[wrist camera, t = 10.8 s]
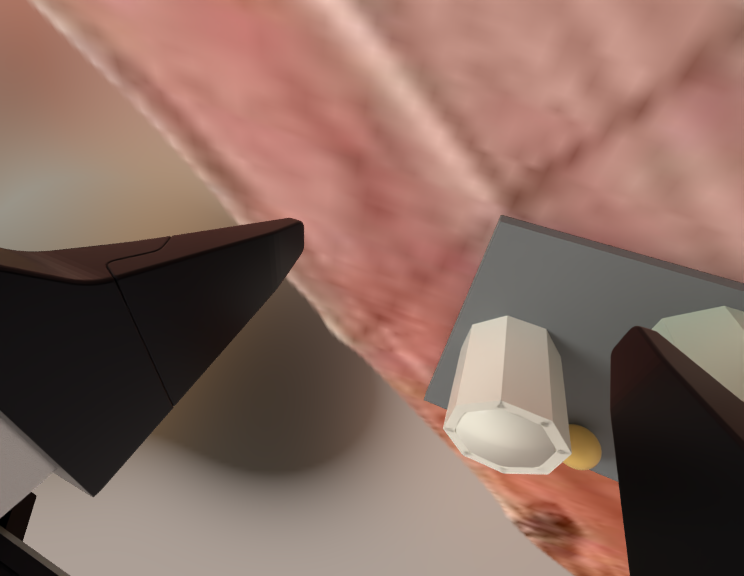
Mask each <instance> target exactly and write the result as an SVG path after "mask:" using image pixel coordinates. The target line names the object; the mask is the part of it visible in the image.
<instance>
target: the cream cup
mask: <svg viewBox="0 0 744 576" xmlns="http://www.w3.org/2000/svg"><path fill="white" fill-rule="evenodd" d="M443 429H444V430H445V432H446V433H447V434H448V436H449V437H450V438H451V440H452V441H453V442H454V444H455V445H456V447H457V448H458V449H459V451H460V452H461V453H462V455H464V456H466V457H468V458H470V459H473V460H475V461H477V462H479V463H482V464H484V465H486V466H488V467H490V468H493V469H495V470H497V471H499V472H502V473H509V474H549V473H550V472H551V471H553V470H554V469H555V468H556V467H557V466H558V465H560V464H561V463H562V462H563V461H564V460H565V459H566V458H568V457H569V456H570V455H571V454H572V451H571V442H570V433H569V424H568V416H567V407H566V398H565V389H564V380H563V372H562V363H561V356H560V354H559V352H558V350H557V349H556V347H555V345H554V343H553V341H552V339H551V337H550V335H549V333H548V331H547V330H546V329H545V328H542V327H539V326H536V325H534V324H531V323H528V322H525V321H522V320H519V319H516V318H514V317H511V316H508V315H507V316H503V317H499V318H496V319H492V320H488V321H484V322H480V323H477V324H473V325H472V327H471V329H470V331H469V333H468V335H467V337H466V339H465V341H464V343H463V345H462V348H461V351H460V356H459V360H458V365H457V369H456V374H455V378H454V382H453V387H452V391H451V396H450V400H449V404H448V409H447V413H446V418H445V422H444V426H443Z"/></svg>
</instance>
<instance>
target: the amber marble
mask: <svg viewBox="0 0 744 576" xmlns="http://www.w3.org/2000/svg"><path fill="white" fill-rule="evenodd" d="M569 433H570V442H571V451H572V454H571V455H570V456H569V457H568V458H566V459H565V460H564V461H563V463H565V464H566V465H568V466H569V467H571V468H574V469H577V470H589V469H591V468H593V467H595V466H596V465H597V464H598V463H599V461H600V459H601V454H602V450H601V446H600V443H599V441H598V439H597V438H596V436H595V435H594V434H593V433H592V432H591V431H589V430H588V429H586V428H585V427H582V426H580V425H576V424H569Z"/></svg>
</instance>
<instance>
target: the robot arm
mask: <svg viewBox="0 0 744 576" xmlns="http://www.w3.org/2000/svg"><path fill="white" fill-rule="evenodd" d="M303 249H304V225H303V223H302V222H301V221H299V220H296V219H293V218H285V219H278V220H272V221H265V222H259V223H252V224H246V225H239V226H233V227H227V228H220V229H214V230H207V231H200V232H195V233H187V234H181V235H174V236H172V237H170V236H167V237H161V238H154V239H147V240H140V241H133V242H124V243H116V244H108V245H98V246H89V247H81V248H71V249H63V250H52V251H39V252H28V251H16V250H10V249H4V248H0V576H70V575H68V574H67V573H66V572H64V571H63V570H61V569H60V568H59V567H57V566H56V565H55V564H53V563H52V562H50V561H49V560H48V559H46V558H45V557H43V556H42V555H41V554H39V553H38V552H36V551H35V550H34V549H32V548H31V547H29V546H28V545H27V544H25V543H24V542H23V539H24V535H25V532H26V529H27V526H28V522H29V519H30V516H31V513H32V509H33V506H34V503H35V500H36V495H35V494H34V493H32V492H31V491H33V490H34V489H35V488H36V487H37V486H38V485H39V484H41V483H42V482H43V481H44V480H45V479H46V478H47V477H49V476H50V475H51V474H52V473H55V474H57V475H58V476H60V477H61V478H63V479H64V480H66V481H68V482H69V483H71V484H72V485H74V486H76V487H77V488H79V489H80V490H82V491H84V492H85V493H87V494H88V495H90V496H92V497H94V496H95V495H96V494H97V493H99V491H101V490H102V488H103V487H104V486H105V485H106V484H107V483H108V482H109V480H110V479H111V478H112V477H113V476H114V475H115V474H116V473H117V471H118V470H119V469H120V468H121V467H122V466H123V465H124V463H125V462H126V461H127V460H128V459H129V458H130V457H131V455H132V454H133V453H134V452H135V451H136V450H137V449H138V447H139V446H140V445H141V444H142V443H143V442H144V441H145V439H146V438H147V437H148V436H149V435H150V434H151V433H152V431H153V430H154V429H155V428H156V427H157V426H158V425H159V424H160V422H161V421H162V420H163V419H164V418H165V417H166V415H167V414H168V413H169V412H170V411H171V410H172V409H173V406H175V405H176V404H177V403H178V402H179V400H180V399H181V398H182V397H183V396H184V395H185V394H186V392H187V391H188V390H189V389H190V388H191V387H192V386H193V384H194V383H195V382H196V381H197V380H198V379H199V378H200V376H201V375H202V374H203V373H204V372H205V371H206V370H207V368H208V367H209V366H210V365H211V364H212V363H213V361H214V360H215V359H216V358H217V357H218V356H219V355H220V354H221V352H222V351H223V350H224V349H225V348H226V347H227V345H228V344H229V343H230V342H231V341H232V340H233V338H235V336H236V335H237V334H238V333H239V332H240V331H241V330H242V328H243V327H244V326H245V325H246V324H247V322H248V321H249V320H250V319H251V318H252V317H253V316H254V315H255V314H256V312H257V311H258V310H259V309H260V308H261V307H262V306H263V304H264V303H265V302H266V301H267V300H268V299H269V298H270V296H271V295H272V294H273V293H274V292H275V290H276V289H277V288H278V287H279V285H280V284H281V283H282V281H283V280H284V278H285V277H286V276H287V274H288V273H289V271H290V270H291V268H292V267H293V265H294V264H295V262H296V261H297V260H298V258H299V257H300V255H301V254H302V252H303ZM610 416H611V425H612V433H613V441H614V449H615V458H616V466H617V474H618V482H619V490H620V498H621V506H622V515H623V523H624V531H625V539H626V547H627V555H628V563H629V571H630V576H744V402H743V401H742V400H740V399H739V398H738V397H737V396H736V395H734V394H733V393H732V392H731V391H729V390H728V389H727V388H726V387H724V386H723V385H722V384H721V383H720V382H718V381H717V380H716V379H715V378H713V377H712V376H711V375H710V374H708V373H707V372H706V371H705V370H704V369H702V368H701V367H700V366H699V365H697V364H696V363H695V362H694V361H692V360H691V359H690V358H689V357H688V356H686V355H685V354H684V353H683V352H681V351H680V350H679V349H678V348H676V347H675V346H674V345H673V344H672V343H670V342H669V341H668V340H667V339H665V338H664V337H663V336H662V335H660V334H659V333H658V332H657V331H654V330H651V329H648V328H645V327H642V326H634V327H632V328H631V329H630V330H629V331H628V332H627V333H626V334H625V335H624V336H623V337H622V339H621V340H620V341H619V342H618V343H617V344H616V346H615V347H614V348H613V350H612V352H611V356H610Z"/></svg>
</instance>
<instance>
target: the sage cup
mask: <svg viewBox="0 0 744 576" xmlns="http://www.w3.org/2000/svg"><path fill="white" fill-rule="evenodd" d="M651 330H654V331H657V332H658V333H659V334H660V335H662V336H663V337H664V338H665V339H667V340H668V341H669V342H670V343H672V344H673V345H674V346H675V347H676V348H678V349H679V350H680V351H681V352H683V353H684V354H685V355H686V356H688V357H689V358H690V359H691V360H692V361H694V362H695V363H696V364H697V365H699V366H700V367H701V368H702V369H704V370H705V371H706V372H707V373H708V374H710V375H711V376H712V377H713V378H715V379H716V380H717V381H718V382H720V383H721V384H722V385H723V386H724V387H726V388H727V389H728V390H729V391H731V392H732V393H733V394H734V395H736V396H737V397H738V398H739V399H740V400H742V401H743V402H744V312H743V311H740V310H737V309H733V308H730V307H727V306H721V307H716V308H711V309H706V310H701V311H696V312H691V313H686V314H681V315H676V316H671V317H666V318H662V319H661V320H660V321H659V322H658V323H657V324H656V325H655V326H654V327H653V328H652V329H651Z"/></svg>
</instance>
